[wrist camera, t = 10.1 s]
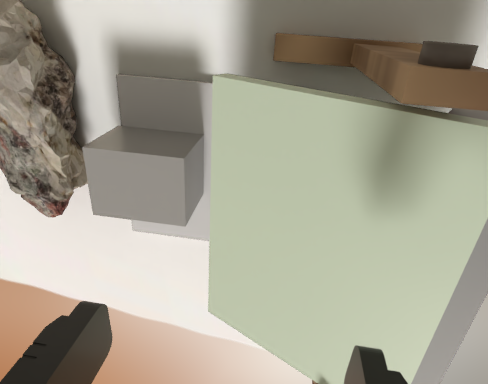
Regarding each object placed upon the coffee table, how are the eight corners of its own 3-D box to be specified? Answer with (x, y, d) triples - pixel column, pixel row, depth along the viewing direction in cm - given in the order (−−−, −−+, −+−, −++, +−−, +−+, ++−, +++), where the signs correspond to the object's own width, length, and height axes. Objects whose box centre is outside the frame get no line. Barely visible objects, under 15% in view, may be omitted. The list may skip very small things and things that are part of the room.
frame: (253, 269, 28) (229, 412, 18) (277, 25, 19) (256, 30, 9) (353, 283, 27) (386, 441, 17) (421, 35, 19) (569, 52, 9)
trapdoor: (251, 273, 24) (208, 311, 21) (270, 68, 18) (212, 75, 14) (431, 370, 18) (412, 445, 15) (558, 113, 12) (575, 143, 8)
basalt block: (204, 134, 23) (118, 125, 23) (184, 158, 19) (82, 147, 19) (203, 193, 25) (125, 184, 25) (185, 226, 21) (93, 214, 21)
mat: (134, 228, 28) (132, 230, 27) (119, 74, 22) (116, 75, 22) (294, 249, 26) (294, 252, 26) (320, 92, 21) (320, 93, 20)
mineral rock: (-51, -28, 21) (-131, -38, 17) (69, -22, 20) (13, -32, 16) (12, 185, 28) (-35, 213, 24) (104, 196, 27) (70, 226, 23)
